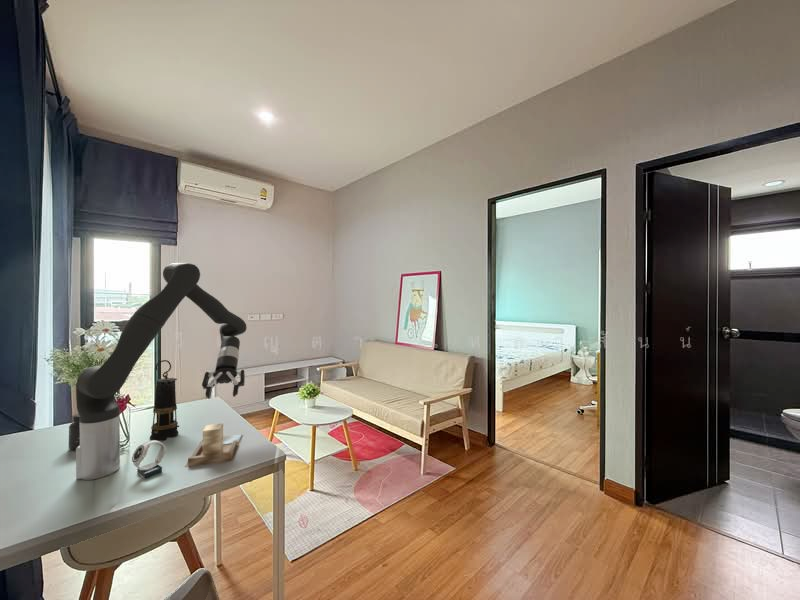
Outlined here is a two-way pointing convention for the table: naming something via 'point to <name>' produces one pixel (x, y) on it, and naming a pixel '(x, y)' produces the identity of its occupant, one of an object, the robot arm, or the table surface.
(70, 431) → the supplement bottle
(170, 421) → the lantern
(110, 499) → the table surface
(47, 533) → the table surface
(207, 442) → the birch block
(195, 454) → the brown wooden flat tray
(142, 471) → the watch
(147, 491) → the table surface
